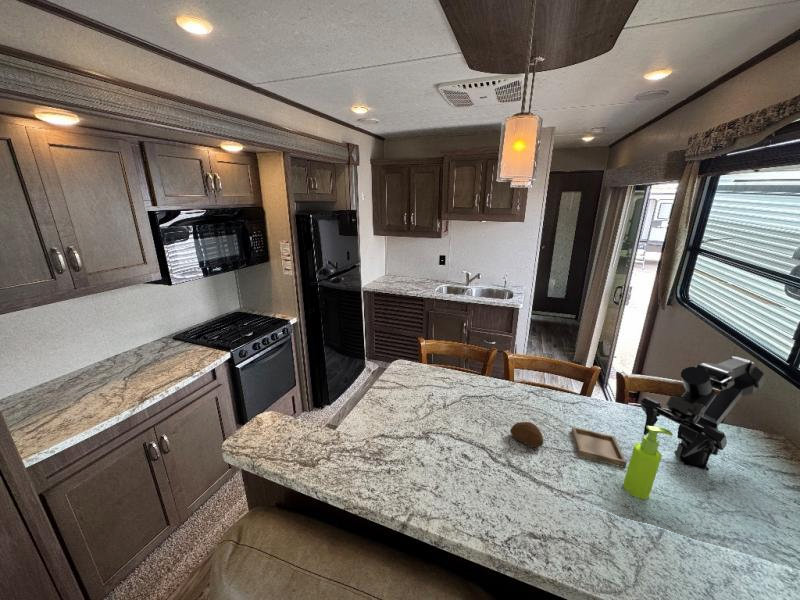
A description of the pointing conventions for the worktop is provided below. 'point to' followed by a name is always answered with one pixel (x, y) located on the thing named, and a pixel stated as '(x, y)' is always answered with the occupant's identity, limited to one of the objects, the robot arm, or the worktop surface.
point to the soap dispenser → (644, 464)
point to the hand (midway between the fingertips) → (662, 444)
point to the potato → (527, 434)
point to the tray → (598, 446)
